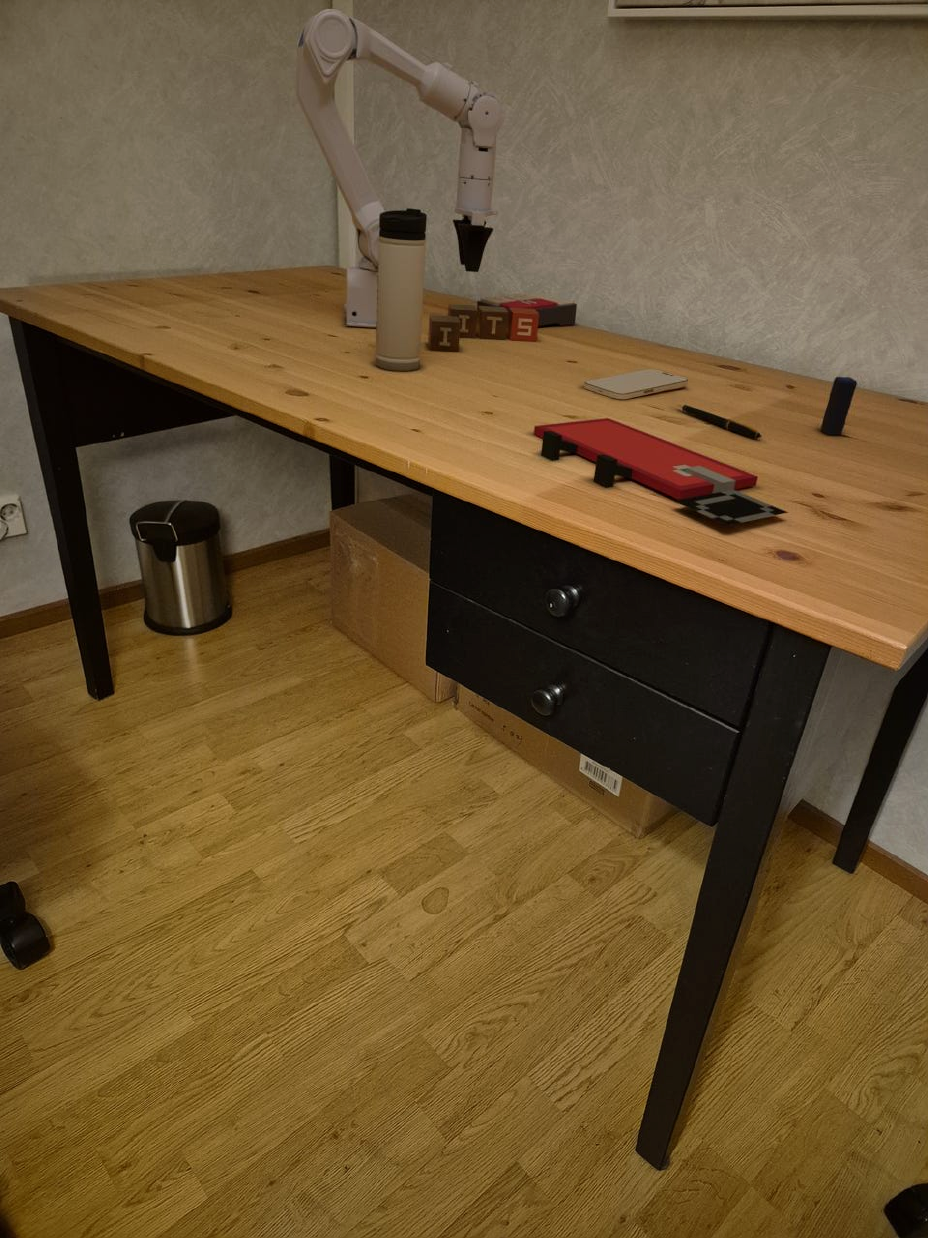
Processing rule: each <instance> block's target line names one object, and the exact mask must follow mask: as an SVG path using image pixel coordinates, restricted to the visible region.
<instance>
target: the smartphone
mask: <svg viewBox="0 0 928 1238" xmlns="http://www.w3.org/2000/svg"><path fill="white" fill-rule="evenodd" d="M688 382H689V379H688V378H686V377H683V376H680V375H676V374H673V373H668V372H666V371H661V370H658V369H656V368H655V369H654V368H645V369H640V370H635V371H631V372H630V371H629V372H625V373H621V374H614V375H610V376H605V377H599V378H594V379H590V380H585V381H584V385H583V388H584V389H585V390H588V391H591V392H595V393H597V394H600V395H603V396H606V397H609V398H613V399H615V400H616V399H617V400H628V399H633V398H637V397H642V396H647V395H650V394H655V393H660V392H665V391H671V390H677V389H681V388H683V387H687V386H688Z"/></svg>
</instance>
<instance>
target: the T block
mask: <svg viewBox="0 0 928 1238" xmlns="http://www.w3.org/2000/svg"><path fill="white" fill-rule="evenodd" d="M507 321H508V311H507V310H506V309H505V308H504V307H490V306H479V307H478V318H477V331H476V335H477V336H478V338H479V339H485V340H501V341H502V340H503V341H506V340H507Z"/></svg>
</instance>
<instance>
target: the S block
mask: <svg viewBox="0 0 928 1238" xmlns="http://www.w3.org/2000/svg"><path fill="white" fill-rule="evenodd" d="M538 321H539V313H538V312H537V311H536V310H535V309H525V308H509V312H508V323H507V332H506V337H508V339H509V340H510V341H520V342H521V341H524V342H537V337H538V330H539V329H538V328H539V326H538Z"/></svg>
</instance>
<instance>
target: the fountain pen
mask: <svg viewBox="0 0 928 1238" xmlns="http://www.w3.org/2000/svg"><path fill="white" fill-rule="evenodd" d="M675 404H676V406H678V407H679V408H681V410H682V411H683V412H686V413H688V414H690V415H691V416H695V417H697V418H699V419H702V420H704V421H706V422H709V423H712V424H714V425H717V426H719V427H721V428H724V429H725V430H728V431H730V432H733V433H736V434H739V435H742V436H745V437H748V438H754V439H760V438H762V437H763V436H762V434H761V433H760V432H759V431H758V430H757V429H756V428H754V427H753V426H751V425H748V424H746V423H744V422H741V421H739V420H736V419H733V418H731V419H730V418H729V419H728V418H726V417H724V416H723V417H722V416H720V415H717V414H714V413H711V412H709V411H706V410H703V409H699V408H696V407H693V406H691V405H687V404H683V405H681V404H677V403H675Z"/></svg>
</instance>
